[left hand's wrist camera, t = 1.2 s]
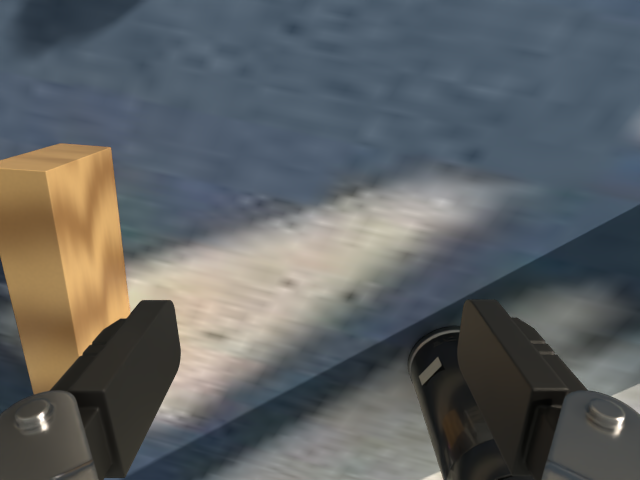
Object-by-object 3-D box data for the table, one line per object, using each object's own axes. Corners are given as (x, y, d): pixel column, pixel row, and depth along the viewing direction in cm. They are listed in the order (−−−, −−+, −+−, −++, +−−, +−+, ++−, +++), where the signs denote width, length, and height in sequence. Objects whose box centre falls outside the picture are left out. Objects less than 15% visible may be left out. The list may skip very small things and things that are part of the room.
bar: (60, 143, 36) (-23, 166, 27) (111, 147, 36) (45, 171, 28) (97, 371, 46) (45, 442, 37) (137, 373, 46) (94, 444, 37)
